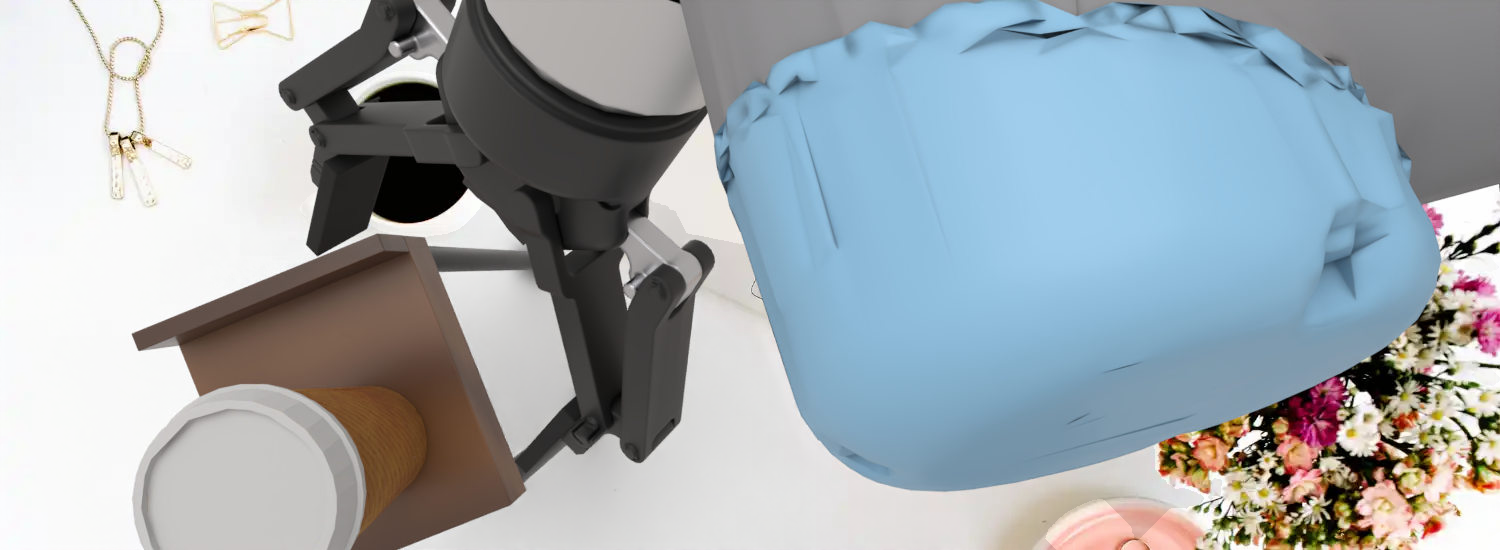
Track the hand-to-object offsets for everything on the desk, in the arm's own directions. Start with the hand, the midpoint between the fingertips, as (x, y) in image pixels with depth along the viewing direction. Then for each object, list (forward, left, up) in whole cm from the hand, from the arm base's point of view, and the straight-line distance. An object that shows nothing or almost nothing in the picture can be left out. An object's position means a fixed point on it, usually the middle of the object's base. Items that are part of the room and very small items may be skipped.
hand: (438, 342), depth 39 cm
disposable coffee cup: (-3, +9, -8) cm, 12 cm away
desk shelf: (-1, +10, -10) cm, 14 cm away
